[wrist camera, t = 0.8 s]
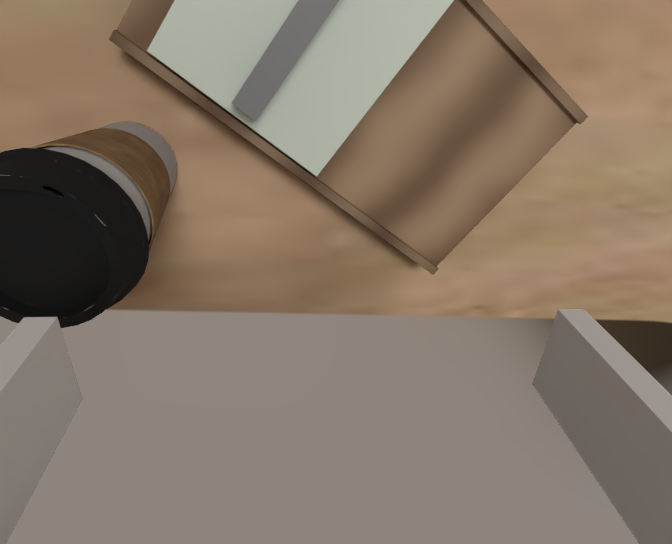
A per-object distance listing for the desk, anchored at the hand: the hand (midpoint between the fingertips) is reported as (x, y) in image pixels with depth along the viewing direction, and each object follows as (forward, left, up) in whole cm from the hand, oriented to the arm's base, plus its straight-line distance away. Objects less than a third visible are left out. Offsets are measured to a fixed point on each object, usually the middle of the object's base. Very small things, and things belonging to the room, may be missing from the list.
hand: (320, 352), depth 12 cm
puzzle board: (0, +6, -24) cm, 24 cm away
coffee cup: (-9, -8, -24) cm, 27 cm away
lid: (-5, +6, -20) cm, 22 cm away
